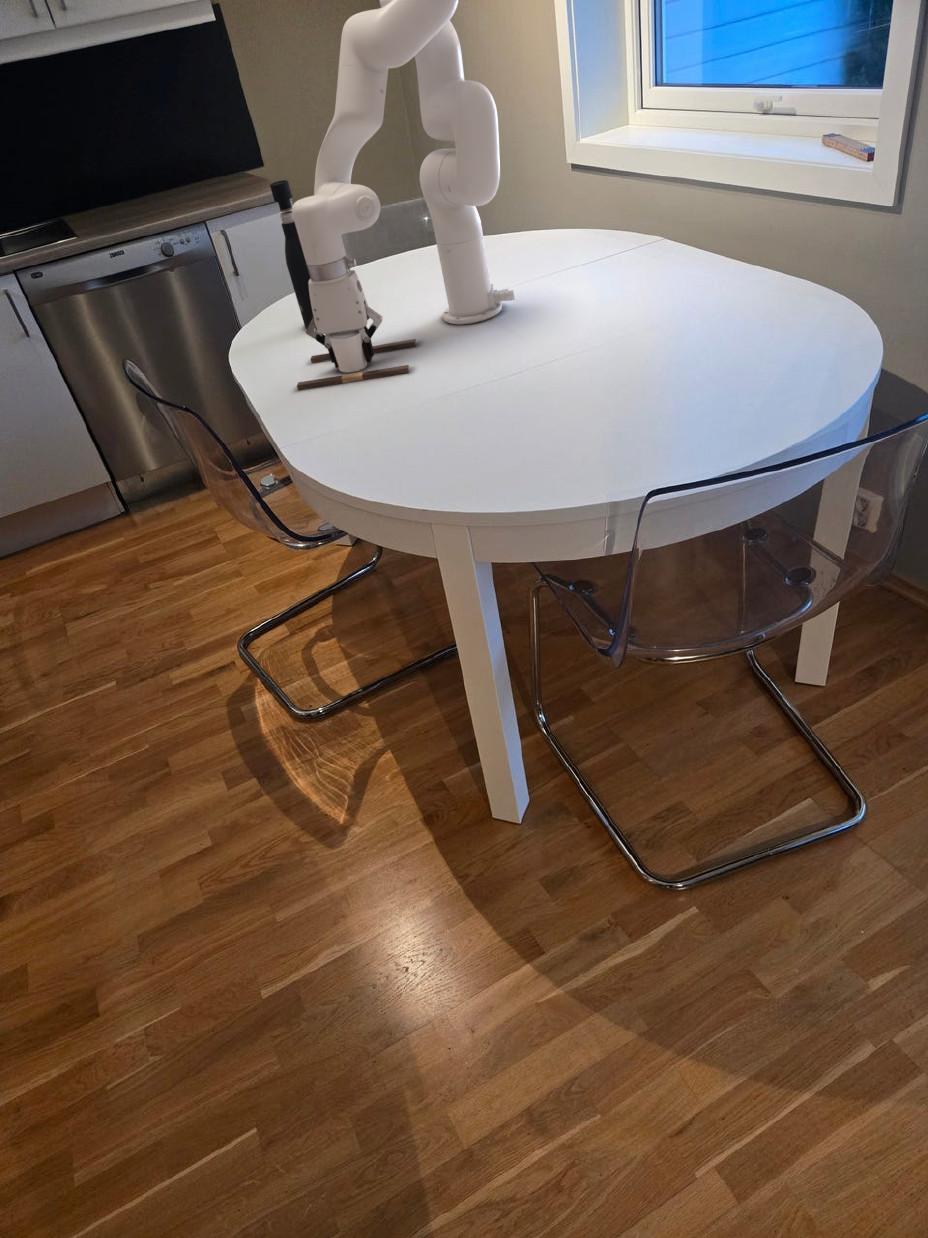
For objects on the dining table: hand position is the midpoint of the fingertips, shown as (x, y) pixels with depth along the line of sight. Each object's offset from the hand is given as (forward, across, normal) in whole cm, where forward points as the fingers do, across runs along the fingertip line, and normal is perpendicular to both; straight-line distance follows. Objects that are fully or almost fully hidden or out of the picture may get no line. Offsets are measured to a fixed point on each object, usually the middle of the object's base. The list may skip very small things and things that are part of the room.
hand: (354, 361), depth 172 cm
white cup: (+1, 0, 0) cm, 1 cm away
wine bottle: (+1, +13, -30) cm, 33 cm away
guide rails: (+1, -1, 0) cm, 1 cm away
